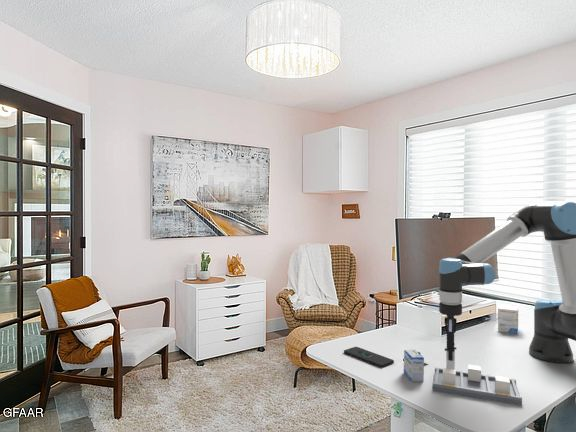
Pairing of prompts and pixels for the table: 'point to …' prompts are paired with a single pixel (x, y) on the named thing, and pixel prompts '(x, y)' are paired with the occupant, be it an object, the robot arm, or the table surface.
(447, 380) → the white cube
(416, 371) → the medicine box
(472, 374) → the white cube
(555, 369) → the table surface
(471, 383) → the gray divided tray
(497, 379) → the white cube
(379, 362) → the smart home device
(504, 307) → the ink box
